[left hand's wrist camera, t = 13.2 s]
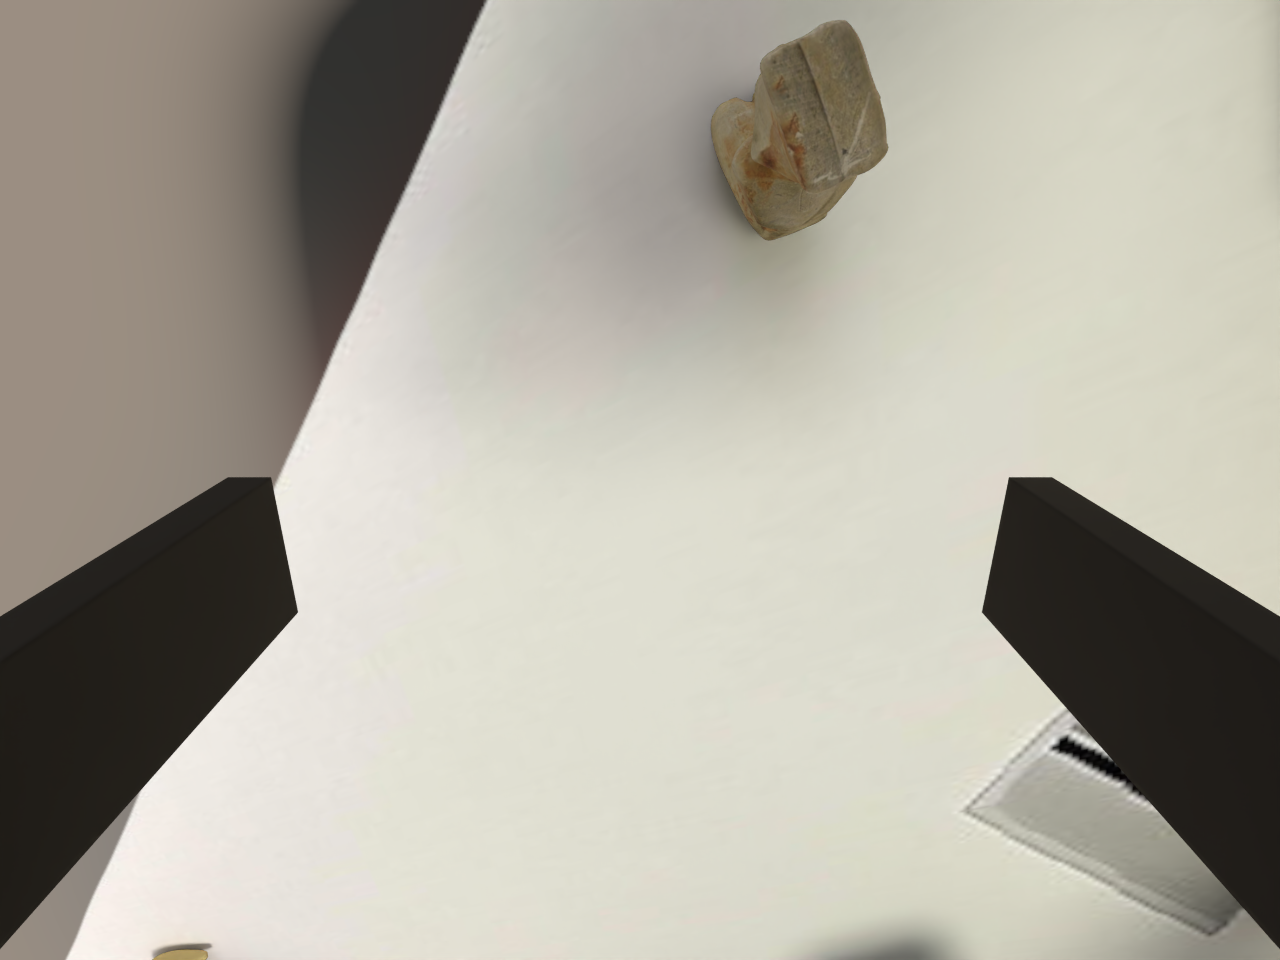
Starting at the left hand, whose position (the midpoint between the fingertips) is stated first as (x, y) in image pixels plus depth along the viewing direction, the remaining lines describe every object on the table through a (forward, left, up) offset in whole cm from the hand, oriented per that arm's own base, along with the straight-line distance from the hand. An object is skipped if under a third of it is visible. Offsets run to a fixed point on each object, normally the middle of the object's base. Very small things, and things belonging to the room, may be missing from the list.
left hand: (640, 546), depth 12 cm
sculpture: (-11, +2, -30) cm, 32 cm away
